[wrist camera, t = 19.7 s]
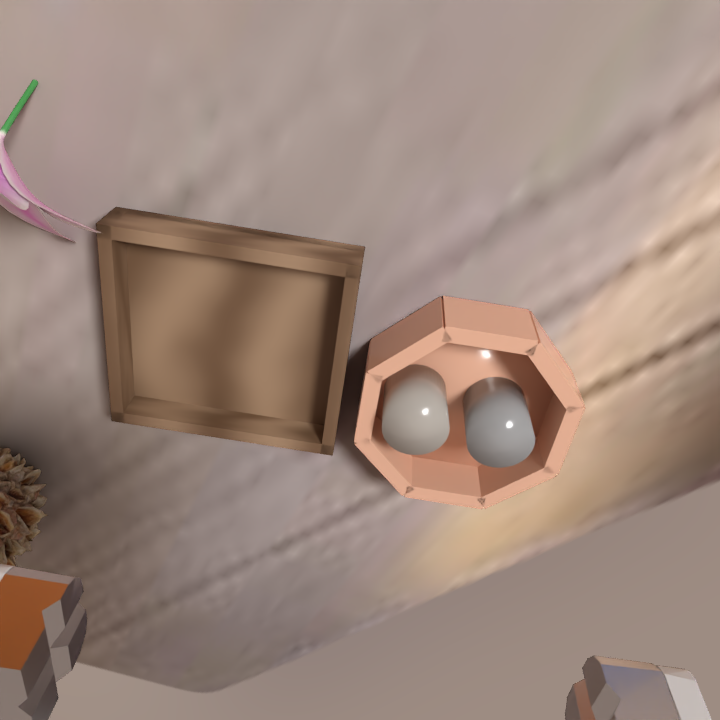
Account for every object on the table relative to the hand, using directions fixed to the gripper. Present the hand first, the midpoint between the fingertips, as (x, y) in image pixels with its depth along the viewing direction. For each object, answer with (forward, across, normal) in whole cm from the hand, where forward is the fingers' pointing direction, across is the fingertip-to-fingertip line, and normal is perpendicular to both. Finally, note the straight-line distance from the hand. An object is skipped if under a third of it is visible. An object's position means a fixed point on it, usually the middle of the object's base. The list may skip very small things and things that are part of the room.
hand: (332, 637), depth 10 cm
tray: (+29, +8, +12) cm, 32 cm away
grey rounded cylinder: (+28, -9, +14) cm, 33 cm away
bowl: (+29, -7, +14) cm, 33 cm away
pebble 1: (+28, -4, +14) cm, 32 cm away
